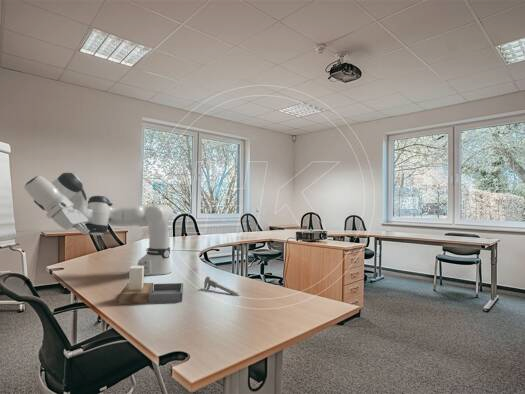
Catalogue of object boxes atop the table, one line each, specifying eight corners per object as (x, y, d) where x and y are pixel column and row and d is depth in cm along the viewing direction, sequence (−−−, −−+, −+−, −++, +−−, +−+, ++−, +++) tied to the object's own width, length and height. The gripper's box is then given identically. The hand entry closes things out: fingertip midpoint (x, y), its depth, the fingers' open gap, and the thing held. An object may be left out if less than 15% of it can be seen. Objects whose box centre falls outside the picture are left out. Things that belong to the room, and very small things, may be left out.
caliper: (203, 288, 152) (204, 275, 152) (205, 288, 153) (205, 275, 153) (238, 296, 141) (238, 282, 141) (240, 296, 142) (240, 282, 142)
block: (128, 289, 132) (129, 268, 132) (131, 286, 137) (131, 265, 137) (141, 289, 133) (142, 268, 133) (143, 286, 138) (144, 265, 138)
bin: (148, 302, 129) (149, 294, 129) (153, 291, 144) (153, 283, 144) (181, 301, 131) (182, 293, 131) (183, 290, 147) (183, 283, 147)
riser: (119, 304, 126) (119, 294, 126) (127, 292, 142) (127, 283, 142) (148, 302, 128) (148, 293, 128) (153, 291, 144) (153, 282, 144)
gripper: (65, 213, 139) (89, 235, 141) (43, 215, 119) (71, 241, 121) (77, 203, 140) (100, 225, 142) (57, 204, 120) (85, 230, 122)
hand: (87, 233), depth 131 cm, fingers closed
